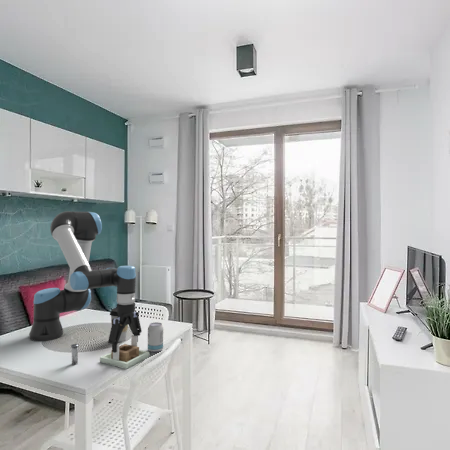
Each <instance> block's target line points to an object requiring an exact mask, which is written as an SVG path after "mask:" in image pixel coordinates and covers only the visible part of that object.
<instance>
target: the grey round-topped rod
mask: <svg viewBox="0 0 450 450" xmlns="http://www.w3.org/2000/svg"><path fill="white" fill-rule="evenodd" d="M79 345H80V344H78V343H72V344H71V345H70V348H71V365H73V366H74V365H78V363H79V362H78V360H79V356H78V355H79Z"/></svg>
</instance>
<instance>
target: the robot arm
mask: <svg viewBox="0 0 450 450" xmlns="http://www.w3.org/2000/svg"><path fill="white" fill-rule="evenodd" d="M102 229H103V224H102V220H101V217H100V215H99V214H98V213H96V212H94V211H93V212H92V211H69V210H68V211H67V210H66V211H62V212H60V213H57V215H56V216H55V217H54V218H53V219H52V221H51V224H50V230H49V231H50V234H51V236H52V238H53V239H54V240H55V241H57V243H58V246H59V248H60V249H61V250H60V251H61V252H62V254H63V256H64V258H65V261H66V263H67V265H68V267H69V273H68V280H67V283H65V284H64V287H63V289H61V288H59V287H48V288H44V289H41V290H38V291H36V293H35V294H34V295H33V322H32V326H31V329H30V331H29V334H28V335H29V336H28V339H29V340H30V341H34V342H35V341H36V342H45V341H50V340H51V341H52V340H55V339H58V338H61V337H62V336H63V335H64V329H63V326H62V322H61V319H60V314H65V313H69V312H75V311H81V310H85V309H87V308H88V307H89V306H90V303H91V301H92V290H93V289H97V288H98V289H99V288H107V287H108V288H109V287H116V303H117V304H116V308H117V313H118V318H116V319H114V318H113V319H112V324H111V327H110V332H109V337H108V339H107V340H108V341H107V344H109V345H111V350H112V352H113V359H115V360H119V346H120V343H119V342H118V341H119V339H120V336H121V334H122V331H123V329H124V328H125V326H126V325H128V327H129V329H130V331H131V333H132V335H131V338H130V339H131V341H130V342H131V343H130V345H132V346H137V347H138V342H139V336H141V333H142V331H143V330H142V327H141V321H140V318H139V317H140V316H139V315H140V312H139V311H136V283H137V281H136V280H137V274H136V267H135V266H133V265H120V266H118V267H117V268H116V267H107V268H105V269H97V270H96V269H94V270H93V269H92V267H91V265H90V264H89V263H90V255H91V250H92V249H91V248H92V245H93V244H92V243H93V242H94V241H95V240H96V239H97V237H96V236H99V235H101V233H102ZM91 289H92V290H91ZM120 324H121V325H122V326H121V325H120ZM115 340H116V341H115Z"/></svg>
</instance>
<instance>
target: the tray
mask: <svg viewBox="0 0 450 450" xmlns="http://www.w3.org/2000/svg"><path fill="white" fill-rule="evenodd" d="M148 358H150V351H146V350H142V349H139V356H138V357H136V358H134V359H132V360H130V361H128V362H123V361H119V360H115V359H111V352H108V353H107V354H105V355H102V356H100V357H99V363H101V364H106V365H109V366H114V367H117V368H122V369H126V370H127V369H129V368H131V367H133V366H135V365H136V364H138V363H141V362H142V361H145V360H146V359H148Z"/></svg>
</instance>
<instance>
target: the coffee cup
mask: <svg viewBox="0 0 450 450" xmlns="http://www.w3.org/2000/svg"><path fill="white" fill-rule="evenodd" d="M109 316H110V317H111V318H110V319H111V320H110V322H111V323H110V324H111V325H112V319H113V318H114V319H116V318H118V313H117V307H116V308H112V309H111V311H110V312H109ZM120 325H121V324H120ZM121 326H122V325H121ZM128 327H129V325H126V326H125V328H124V329H123V331H122V334H121V336H120V339H119V341H118V343H122V342H124V341H126V339H127V334H128ZM115 341H116V340H115Z"/></svg>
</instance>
